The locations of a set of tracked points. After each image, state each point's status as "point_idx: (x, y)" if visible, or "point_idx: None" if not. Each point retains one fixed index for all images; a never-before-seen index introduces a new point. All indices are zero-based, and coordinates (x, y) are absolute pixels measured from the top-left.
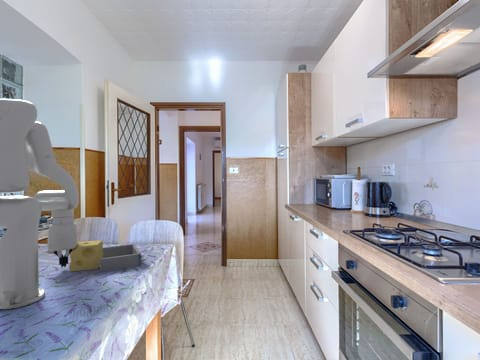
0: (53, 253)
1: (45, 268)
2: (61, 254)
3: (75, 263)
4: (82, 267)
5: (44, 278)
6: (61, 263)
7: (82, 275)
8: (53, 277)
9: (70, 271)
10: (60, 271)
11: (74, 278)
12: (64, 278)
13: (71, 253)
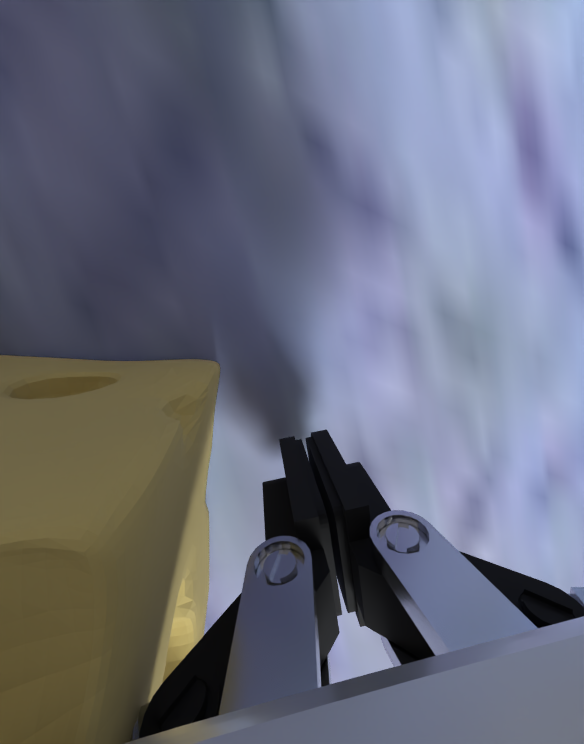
0: (561, 598)
1: (465, 542)
2: (387, 578)
3: (121, 380)
4: (59, 364)
5: (426, 229)
6: (333, 451)
7: (10, 149)
8: (346, 225)
9: (214, 361)
10: (323, 415)
11: (77, 49)
12: (213, 119)
13: (103, 486)
